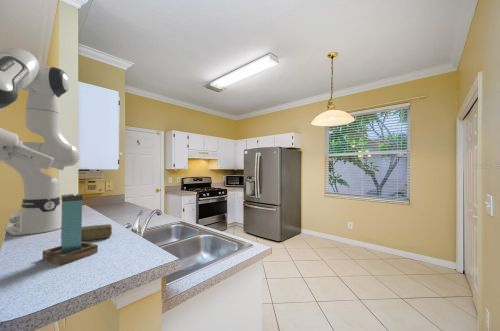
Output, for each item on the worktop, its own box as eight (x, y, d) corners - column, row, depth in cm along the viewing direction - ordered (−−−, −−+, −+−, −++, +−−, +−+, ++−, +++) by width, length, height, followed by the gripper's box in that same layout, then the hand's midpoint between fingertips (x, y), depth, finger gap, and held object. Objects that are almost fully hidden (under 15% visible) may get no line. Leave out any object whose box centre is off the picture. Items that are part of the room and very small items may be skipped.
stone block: (110, 238, 84) (111, 226, 84) (74, 243, 79) (74, 230, 79) (112, 234, 90) (112, 222, 90) (78, 238, 84) (78, 226, 84)
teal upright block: (60, 250, 68) (61, 194, 68) (79, 246, 71) (80, 192, 71) (61, 255, 65) (62, 195, 65) (81, 250, 68) (82, 194, 68)
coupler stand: (42, 259, 65) (42, 250, 65) (78, 247, 74) (78, 240, 74) (62, 265, 61) (62, 256, 61) (97, 252, 71) (97, 244, 71)
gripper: (18, 139, 54) (76, 161, 65) (-4, 131, 64) (50, 151, 75) (2, 161, 52) (65, 180, 64) (-18, 149, 62) (39, 167, 74)
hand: (56, 164), depth 70 cm, fingers open, 8 cm apart
